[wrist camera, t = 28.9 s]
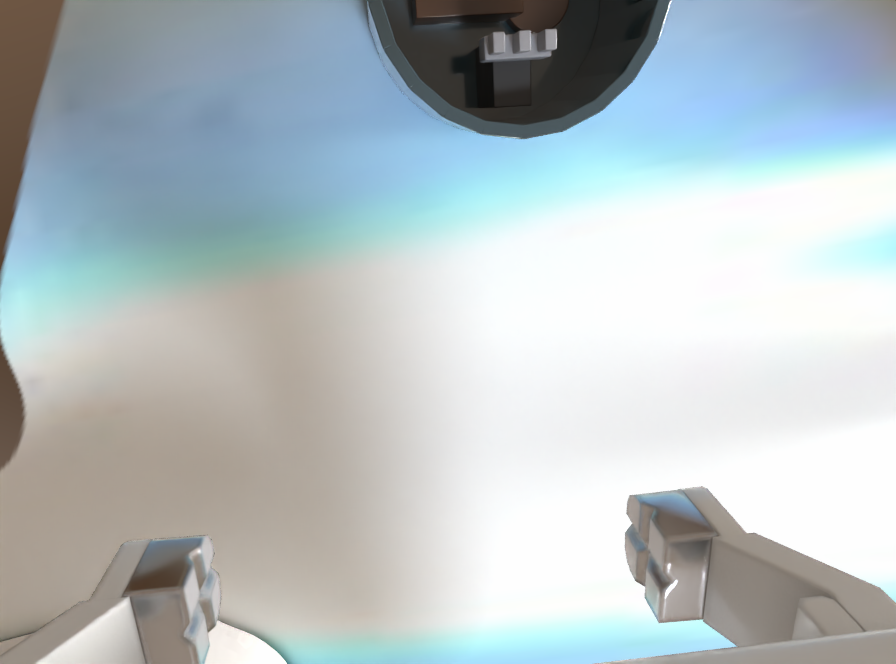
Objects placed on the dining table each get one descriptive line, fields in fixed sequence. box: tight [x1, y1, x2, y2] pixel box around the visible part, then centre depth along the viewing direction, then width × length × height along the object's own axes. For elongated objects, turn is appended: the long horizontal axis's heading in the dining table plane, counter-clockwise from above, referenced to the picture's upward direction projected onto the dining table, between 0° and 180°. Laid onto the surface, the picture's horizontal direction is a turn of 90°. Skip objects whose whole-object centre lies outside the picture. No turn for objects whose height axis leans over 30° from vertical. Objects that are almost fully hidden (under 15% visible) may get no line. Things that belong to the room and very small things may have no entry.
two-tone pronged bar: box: [475, 29, 557, 108], centre depth 31 cm, size 8×3×3 cm
